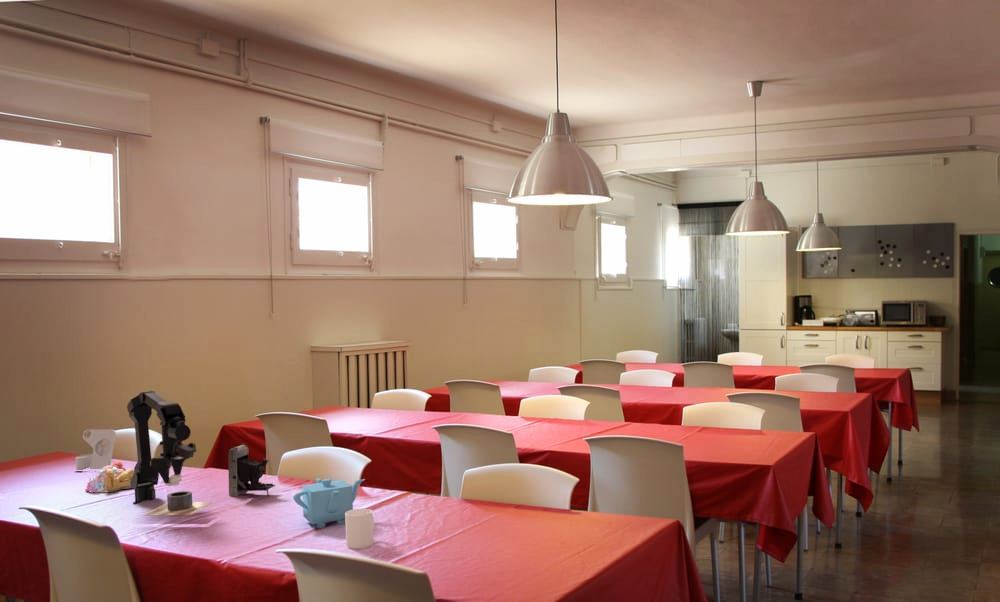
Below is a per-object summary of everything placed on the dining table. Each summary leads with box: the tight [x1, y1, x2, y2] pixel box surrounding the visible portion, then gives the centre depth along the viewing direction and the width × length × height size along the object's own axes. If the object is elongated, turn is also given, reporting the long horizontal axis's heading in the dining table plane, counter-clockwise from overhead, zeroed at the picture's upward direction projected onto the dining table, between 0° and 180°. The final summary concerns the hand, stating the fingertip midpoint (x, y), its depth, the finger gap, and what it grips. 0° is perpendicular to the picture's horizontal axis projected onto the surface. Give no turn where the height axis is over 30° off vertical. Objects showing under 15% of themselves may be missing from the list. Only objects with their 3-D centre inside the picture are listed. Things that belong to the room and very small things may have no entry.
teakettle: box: [293, 477, 366, 529], centre depth 285 cm, size 19×19×15 cm
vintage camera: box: [228, 443, 276, 497], centre depth 326 cm, size 10×16×20 cm, turn 78°
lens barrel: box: [166, 490, 193, 511], centre depth 308 cm, size 8×8×5 cm
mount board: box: [143, 501, 213, 516], centre depth 307 cm, size 18×18×1 cm
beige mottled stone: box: [162, 474, 183, 487], centre depth 306 cm, size 6×7×3 cm
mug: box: [344, 508, 375, 550], centre depth 260 cm, size 12×8×10 cm
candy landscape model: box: [85, 461, 134, 493], centre depth 353 cm, size 25×24×9 cm
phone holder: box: [74, 428, 117, 470], centre depth 389 cm, size 17×10×18 cm, turn 78°
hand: (172, 480), depth 306 cm, fingers closed on beige mottled stone, 7 cm apart
